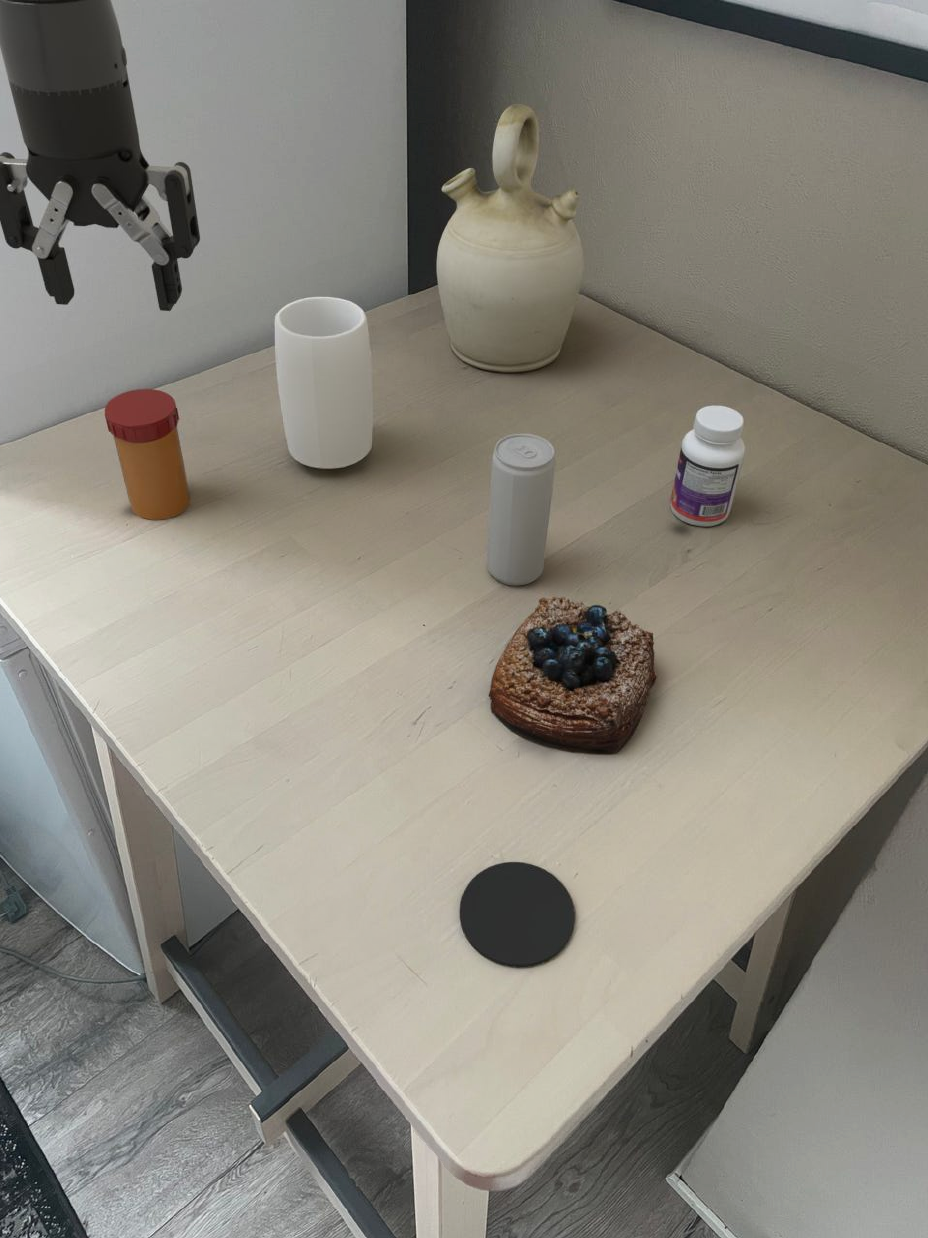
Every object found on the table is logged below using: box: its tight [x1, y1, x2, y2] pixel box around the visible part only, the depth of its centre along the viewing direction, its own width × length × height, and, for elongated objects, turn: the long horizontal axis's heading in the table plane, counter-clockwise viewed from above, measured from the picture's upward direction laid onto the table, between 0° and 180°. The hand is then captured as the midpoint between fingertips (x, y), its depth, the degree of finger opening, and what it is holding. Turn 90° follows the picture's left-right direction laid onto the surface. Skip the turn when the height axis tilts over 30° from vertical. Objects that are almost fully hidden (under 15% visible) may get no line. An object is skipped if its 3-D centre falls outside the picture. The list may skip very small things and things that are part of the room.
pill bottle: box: [669, 405, 746, 528], centre depth 90 cm, size 5×5×10 cm
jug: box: [436, 103, 585, 374], centre depth 105 cm, size 15×16×25 cm
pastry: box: [488, 596, 658, 755], centre depth 74 cm, size 11×12×6 cm
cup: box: [274, 296, 374, 469], centre depth 93 cm, size 8×8×14 cm
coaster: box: [459, 861, 576, 969], centre depth 62 cm, size 7×7×1 cm
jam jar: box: [112, 425, 191, 521], centre depth 88 cm, size 5×5×9 cm
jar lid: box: [104, 388, 180, 442], centre depth 85 cm, size 6×6×2 cm
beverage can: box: [486, 433, 556, 587], centre depth 82 cm, size 5×5×12 cm
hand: (117, 302), depth 79 cm, fingers open, 7 cm apart
